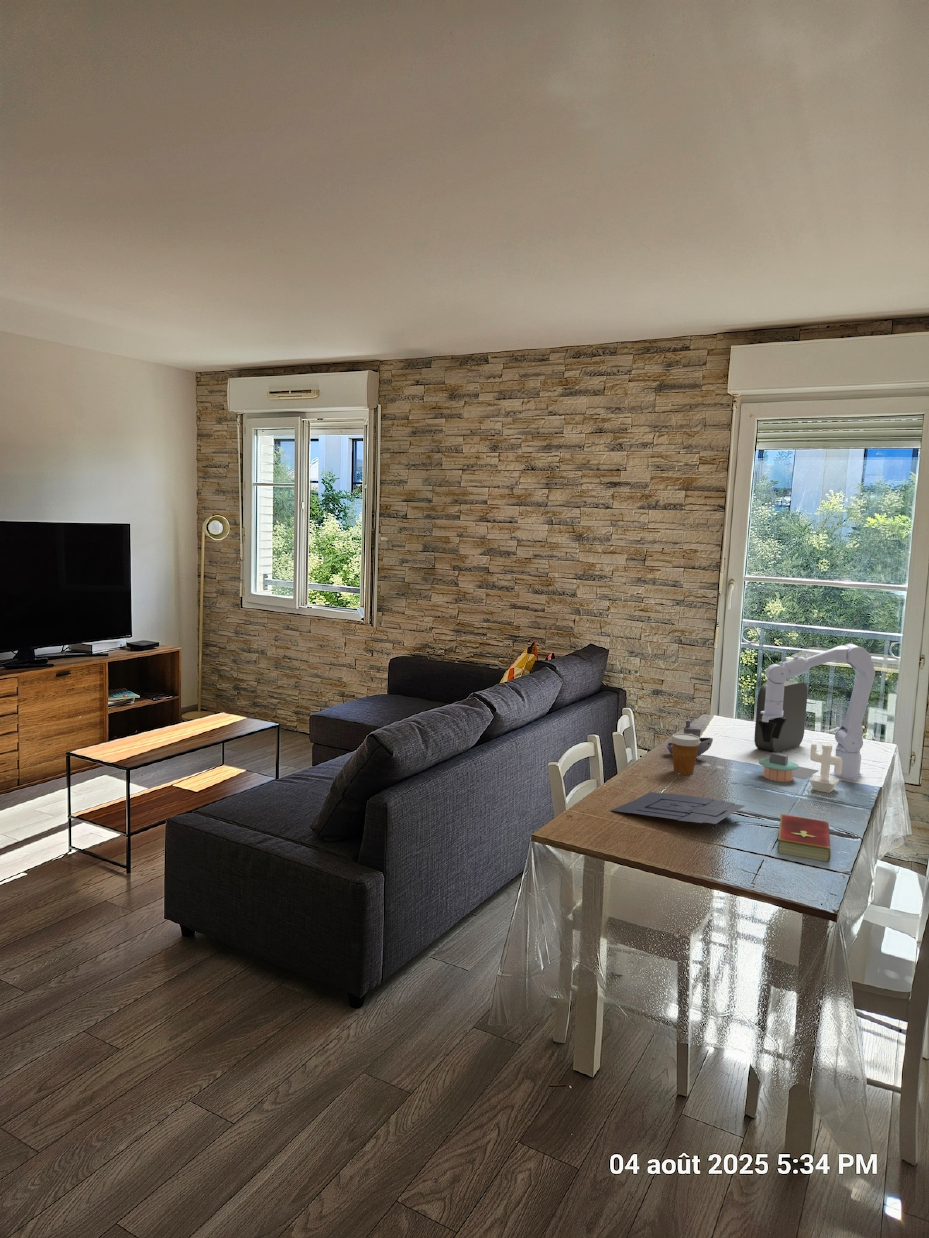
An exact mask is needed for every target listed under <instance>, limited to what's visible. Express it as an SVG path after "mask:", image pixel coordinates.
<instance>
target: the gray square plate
mask: <svg viewBox="0 0 929 1238" xmlns="http://www.w3.org/2000/svg"><path fill="white" fill-rule="evenodd" d="M818 772H820V771H819V770H818V769H814V768H813V769H812V768H809V767H803V766H800V765H798V769H796V770H794V776H793V778H798V779H803V780H806V779H809V777H811V776H814V775H815V774H816V773H818Z"/></svg>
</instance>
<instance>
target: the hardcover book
mask: <svg viewBox="0 0 929 1238" xmlns="http://www.w3.org/2000/svg"><path fill="white" fill-rule="evenodd" d="M779 819H780V820H779V827H778V828H779V829H778V830H779V831H778V839H777V841H778V842H779V847H778V853H779V854H782V855H783V854H784V855H790V856H795V857H801V858H807V859H813V860H819V861H824V862H827V863H830V861H831V841H830V839H831V838H830V828H829V827H830V826H829V821H828V820H823V819H816V818H808V817H803V816H795V815H789V814H784V813H781V814H780V818H779Z"/></svg>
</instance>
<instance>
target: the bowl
mask: <svg viewBox="0 0 929 1238" xmlns="http://www.w3.org/2000/svg"><path fill="white" fill-rule="evenodd" d="M762 771H763V772H762V776H763V778H765V779H768V780H771V781H774V782H783V783H786V782H792V781H793V780H794V777H793V776H794V770H776V769H771V768H767V767H764V766H763V768H762Z"/></svg>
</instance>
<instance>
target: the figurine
mask: <svg viewBox="0 0 929 1238" xmlns="http://www.w3.org/2000/svg"><path fill="white" fill-rule="evenodd" d="M817 748H818V746H817V743H811V745H810V755H809V757H810V761H812V762H815V763H821V766H820V774H819V775H817V774H813V775H812V777H810V778H808V779H809V782H810V785H811V787H812V790H813V791H818V792H822V793H827V794H830V793H832V791H833V790H835V788H836V786H837V784H838V783H839V782H840V779H838V778H833V777H830V769H831V766H836V774H837V775H840V774H841V773H842V758H840V757H836V756H835V755H832V751H833V745H832V743H829V742H828V743H827V742H824V743H822V745H821V750H822V752H821V753H818V752H817V751H818V750H817Z"/></svg>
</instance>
